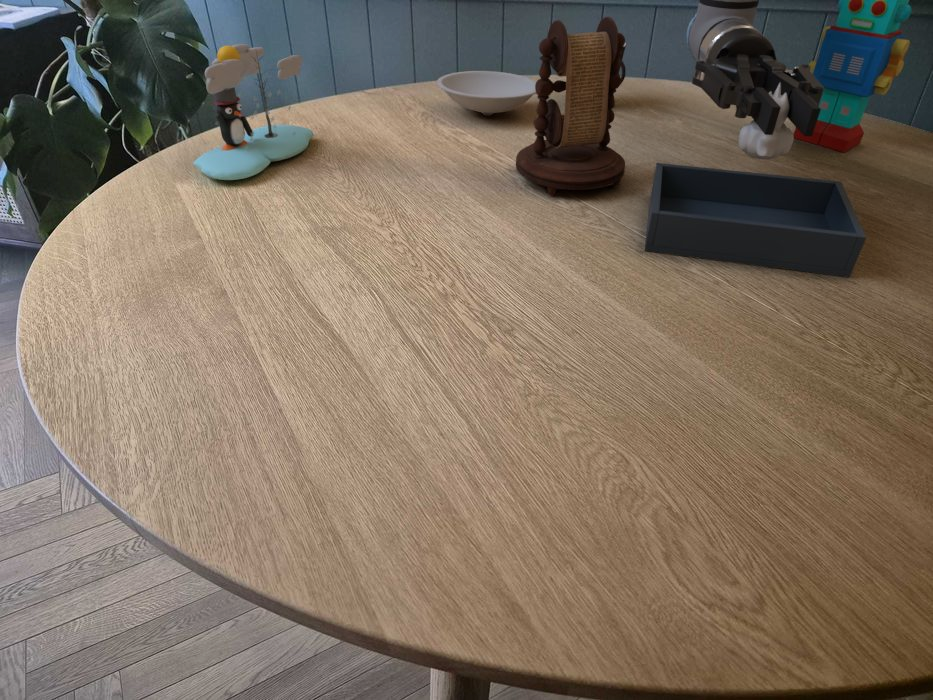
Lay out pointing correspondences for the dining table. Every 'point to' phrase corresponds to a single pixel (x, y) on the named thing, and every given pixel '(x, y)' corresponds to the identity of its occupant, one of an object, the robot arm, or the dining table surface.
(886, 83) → the toy robot
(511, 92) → the dish
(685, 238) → the bin
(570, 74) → the scroll
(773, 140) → the white figurine
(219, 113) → the penguin figurine
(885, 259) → the dining table surface
